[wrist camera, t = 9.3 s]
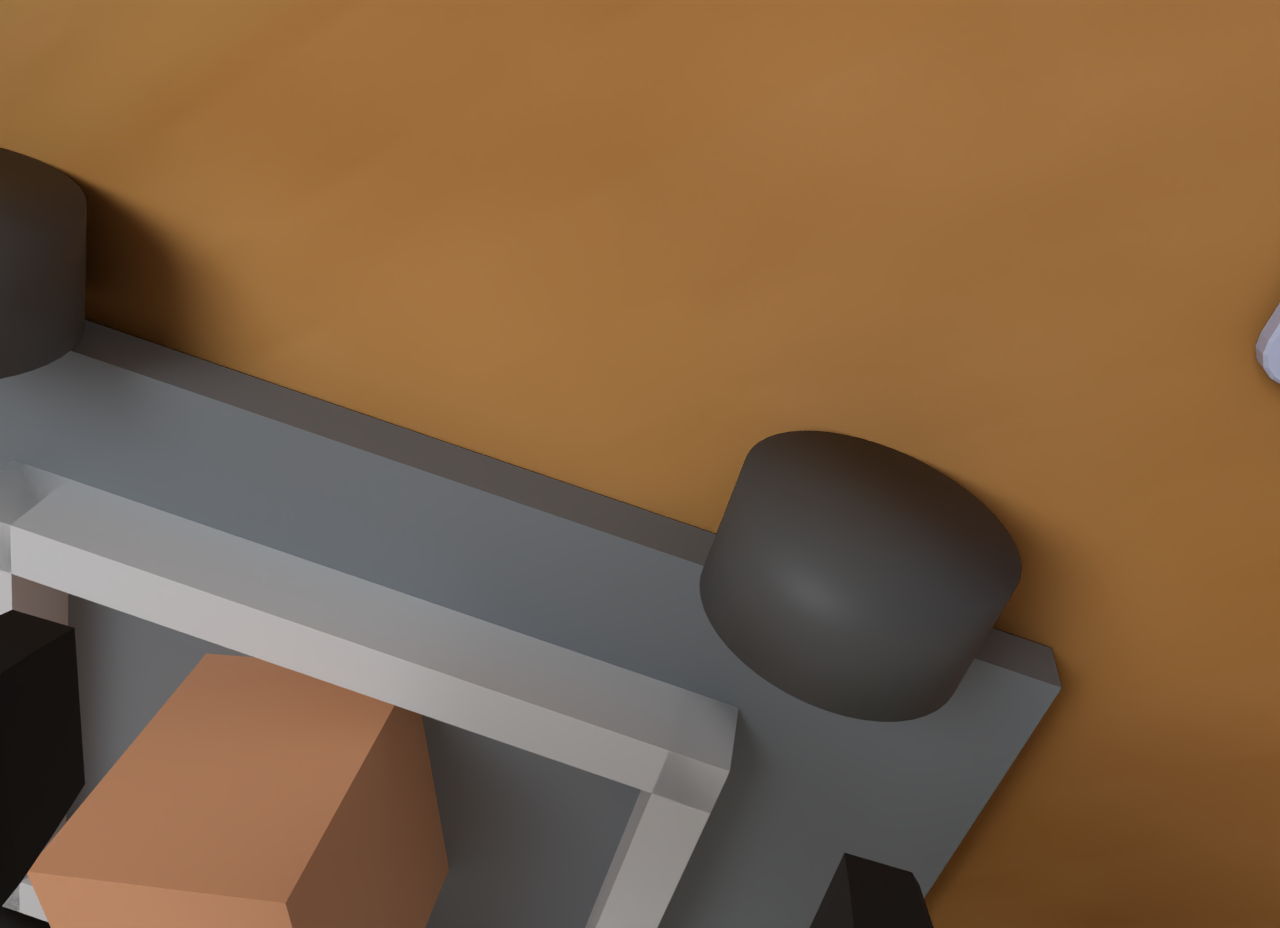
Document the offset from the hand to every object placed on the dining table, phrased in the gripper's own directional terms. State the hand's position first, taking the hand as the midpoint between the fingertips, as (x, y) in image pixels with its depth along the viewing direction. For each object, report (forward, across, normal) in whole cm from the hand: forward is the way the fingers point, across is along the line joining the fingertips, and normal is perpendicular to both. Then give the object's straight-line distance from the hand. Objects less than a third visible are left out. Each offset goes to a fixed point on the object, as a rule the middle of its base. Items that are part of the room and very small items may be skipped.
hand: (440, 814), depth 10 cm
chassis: (+8, +4, +9) cm, 13 cm away
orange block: (+7, +4, +8) cm, 12 cm away
